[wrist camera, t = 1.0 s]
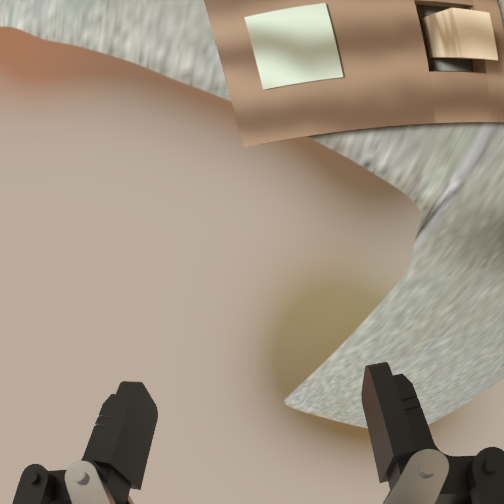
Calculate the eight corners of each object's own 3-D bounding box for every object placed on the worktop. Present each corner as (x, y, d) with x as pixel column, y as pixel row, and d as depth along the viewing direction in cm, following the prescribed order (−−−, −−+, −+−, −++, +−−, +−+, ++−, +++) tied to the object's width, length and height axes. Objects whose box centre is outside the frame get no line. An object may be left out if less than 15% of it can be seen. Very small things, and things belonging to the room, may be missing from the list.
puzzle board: (207, -12, 24) (198, -19, 22) (474, -28, 17) (488, -34, 14) (248, 140, 33) (242, 147, 30) (500, 117, 26) (515, 123, 23)
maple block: (421, 18, 23) (452, 7, 16) (453, 20, 22) (489, 12, 15) (429, 57, 25) (462, 57, 18) (460, 58, 24) (498, 60, 17)
